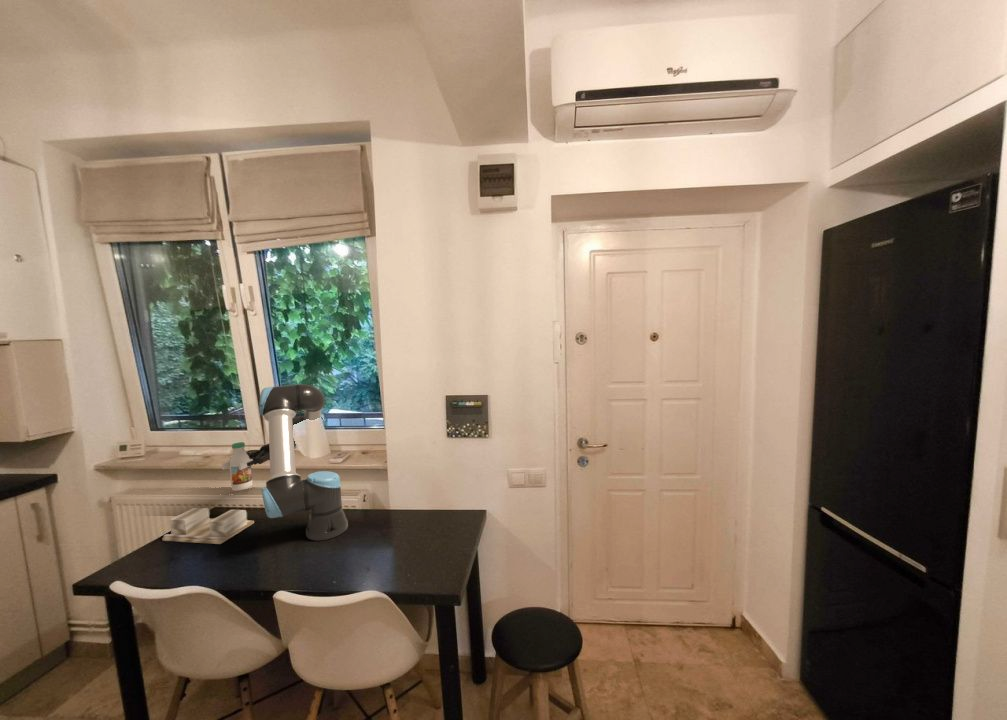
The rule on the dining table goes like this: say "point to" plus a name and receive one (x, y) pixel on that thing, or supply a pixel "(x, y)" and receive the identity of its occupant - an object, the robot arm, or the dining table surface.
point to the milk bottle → (238, 477)
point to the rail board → (207, 526)
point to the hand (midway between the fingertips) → (231, 466)
